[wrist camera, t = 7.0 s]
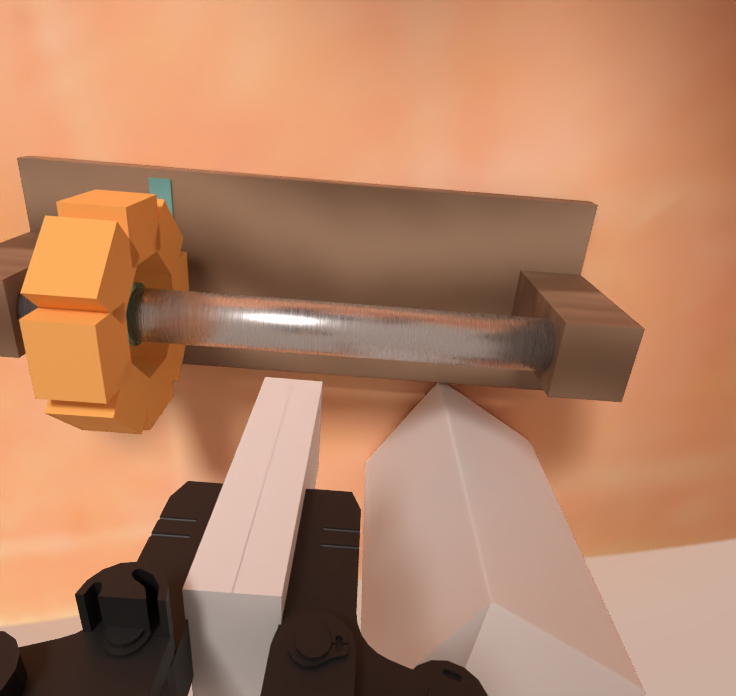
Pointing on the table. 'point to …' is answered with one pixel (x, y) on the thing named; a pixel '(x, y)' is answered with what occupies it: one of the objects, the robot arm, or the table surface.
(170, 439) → the table surface
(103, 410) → the ring
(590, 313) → the rack
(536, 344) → the pipe
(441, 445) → the milk carton
